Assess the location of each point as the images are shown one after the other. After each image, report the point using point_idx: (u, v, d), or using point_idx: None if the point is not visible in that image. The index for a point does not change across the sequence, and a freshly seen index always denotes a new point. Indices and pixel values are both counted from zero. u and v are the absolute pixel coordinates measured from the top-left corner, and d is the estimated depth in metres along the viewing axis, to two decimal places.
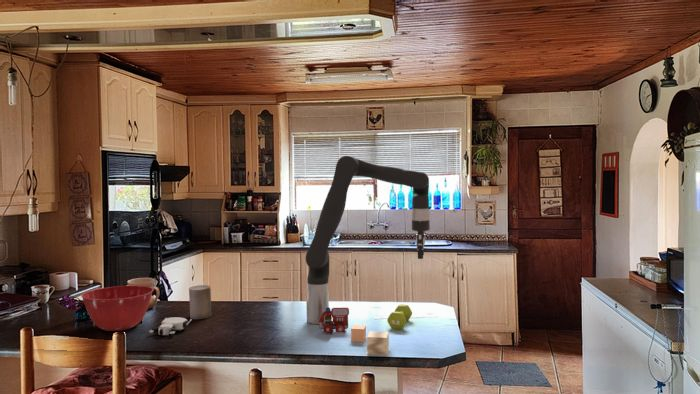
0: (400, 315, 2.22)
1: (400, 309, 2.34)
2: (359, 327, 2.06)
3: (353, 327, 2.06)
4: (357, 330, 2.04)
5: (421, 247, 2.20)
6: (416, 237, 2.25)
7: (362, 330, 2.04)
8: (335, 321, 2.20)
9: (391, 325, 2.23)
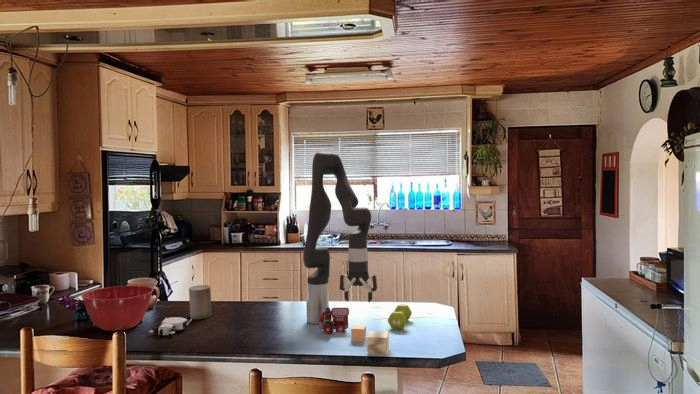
0: (401, 315, 2.22)
1: (400, 309, 2.34)
2: (359, 327, 2.06)
3: (353, 327, 2.06)
4: (357, 330, 2.04)
5: (376, 288, 2.05)
6: (363, 279, 2.04)
7: (362, 330, 2.04)
8: (335, 321, 2.20)
9: (392, 325, 2.23)
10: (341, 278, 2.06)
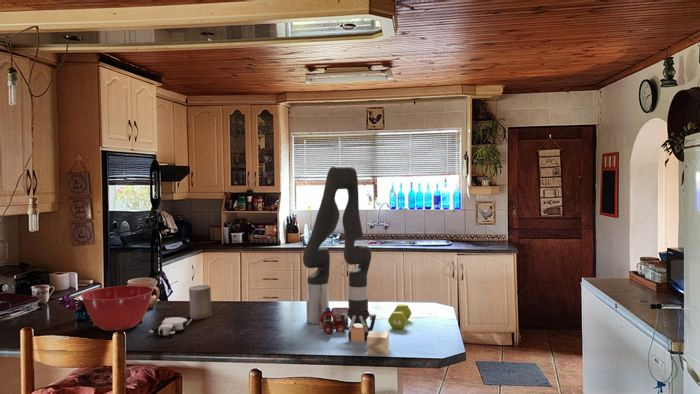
0: (401, 315, 2.22)
1: (399, 309, 2.34)
2: (359, 327, 2.06)
3: (353, 327, 2.06)
4: (357, 330, 2.04)
5: (372, 327, 2.06)
6: (363, 318, 2.04)
7: (362, 330, 2.04)
8: (335, 321, 2.20)
9: (392, 325, 2.23)
10: (342, 318, 2.06)
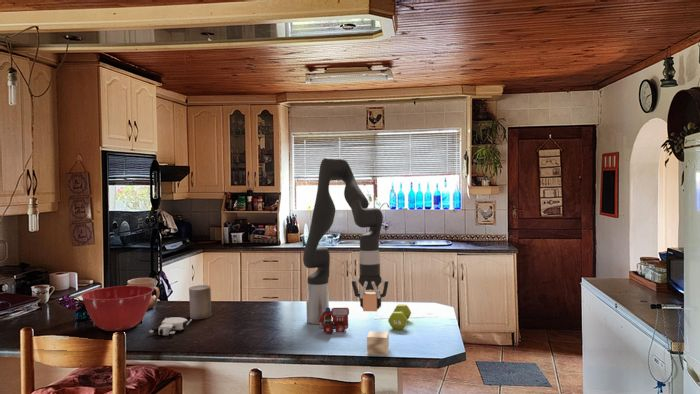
0: (401, 315, 2.22)
1: (399, 309, 2.34)
2: (371, 294, 1.97)
3: (365, 293, 1.97)
4: (369, 296, 1.95)
5: None
6: (375, 284, 1.95)
7: (374, 296, 1.95)
8: (335, 321, 2.20)
9: (392, 325, 2.23)
10: (353, 284, 1.97)
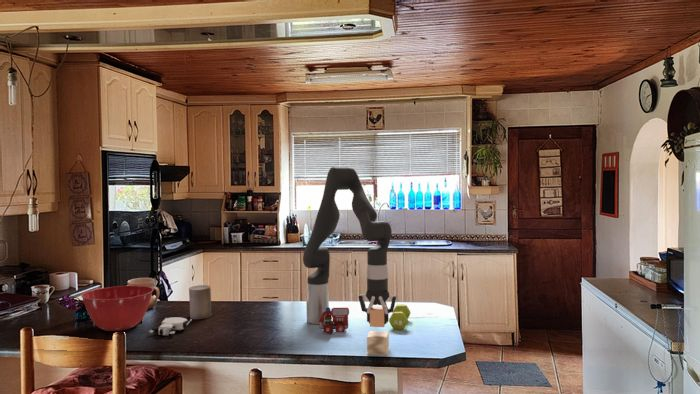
0: (402, 315, 2.22)
1: (399, 309, 2.34)
2: (378, 309, 1.92)
3: (372, 308, 1.92)
4: (376, 311, 1.90)
5: (393, 309, 1.92)
6: (383, 299, 1.91)
7: (382, 311, 1.90)
8: (335, 321, 2.20)
9: (393, 325, 2.23)
10: (360, 299, 1.93)
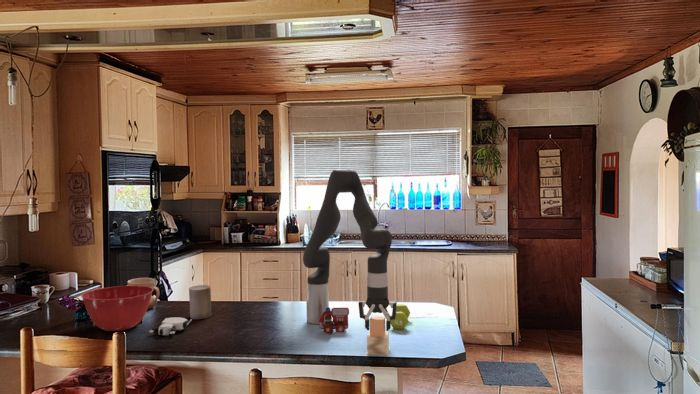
0: (403, 315, 2.22)
1: (399, 309, 2.34)
2: (378, 318, 1.92)
3: (372, 318, 1.93)
4: (376, 321, 1.91)
5: (395, 316, 1.92)
6: (383, 306, 1.91)
7: (382, 321, 1.90)
8: (335, 321, 2.20)
9: (393, 325, 2.23)
10: (360, 306, 1.93)
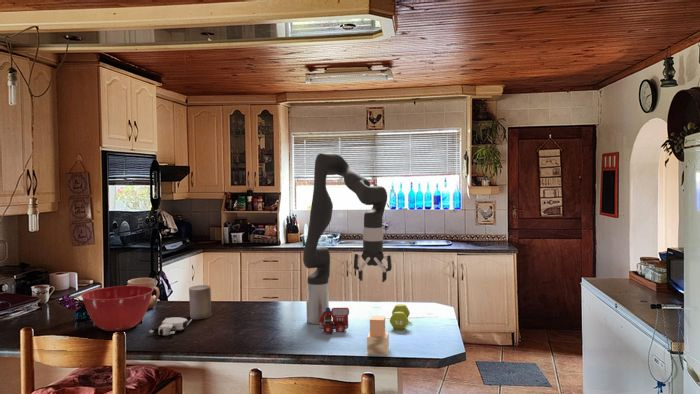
0: (403, 315, 2.22)
1: (398, 309, 2.34)
2: (378, 318, 1.92)
3: (372, 318, 1.93)
4: (376, 321, 1.91)
5: (391, 268, 2.03)
6: (378, 259, 2.01)
7: (382, 321, 1.90)
8: (335, 321, 2.20)
9: (394, 325, 2.23)
10: (355, 257, 2.03)
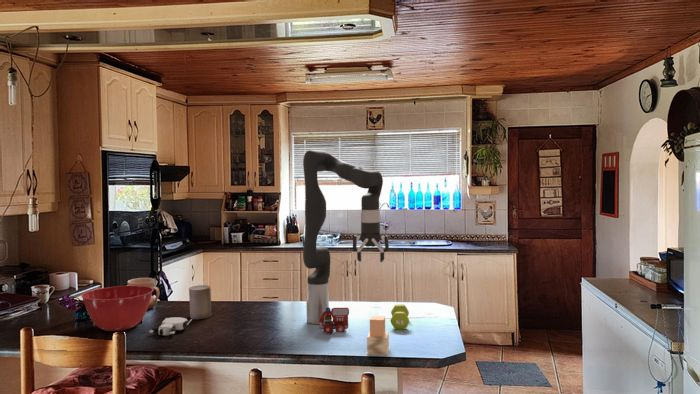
0: (404, 315, 2.22)
1: (398, 309, 2.34)
2: (378, 318, 1.92)
3: (372, 318, 1.93)
4: (376, 321, 1.91)
5: (388, 248, 2.12)
6: (375, 240, 2.10)
7: (382, 321, 1.90)
8: (335, 321, 2.20)
9: (395, 325, 2.22)
10: (354, 239, 2.12)
